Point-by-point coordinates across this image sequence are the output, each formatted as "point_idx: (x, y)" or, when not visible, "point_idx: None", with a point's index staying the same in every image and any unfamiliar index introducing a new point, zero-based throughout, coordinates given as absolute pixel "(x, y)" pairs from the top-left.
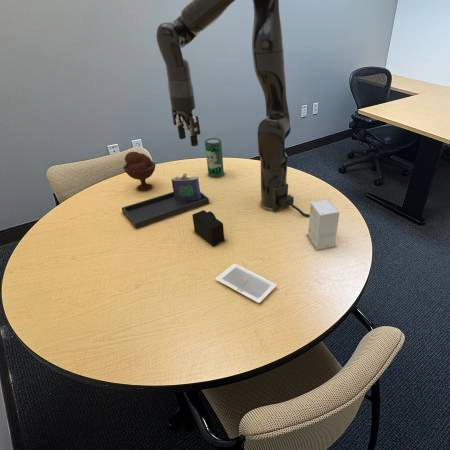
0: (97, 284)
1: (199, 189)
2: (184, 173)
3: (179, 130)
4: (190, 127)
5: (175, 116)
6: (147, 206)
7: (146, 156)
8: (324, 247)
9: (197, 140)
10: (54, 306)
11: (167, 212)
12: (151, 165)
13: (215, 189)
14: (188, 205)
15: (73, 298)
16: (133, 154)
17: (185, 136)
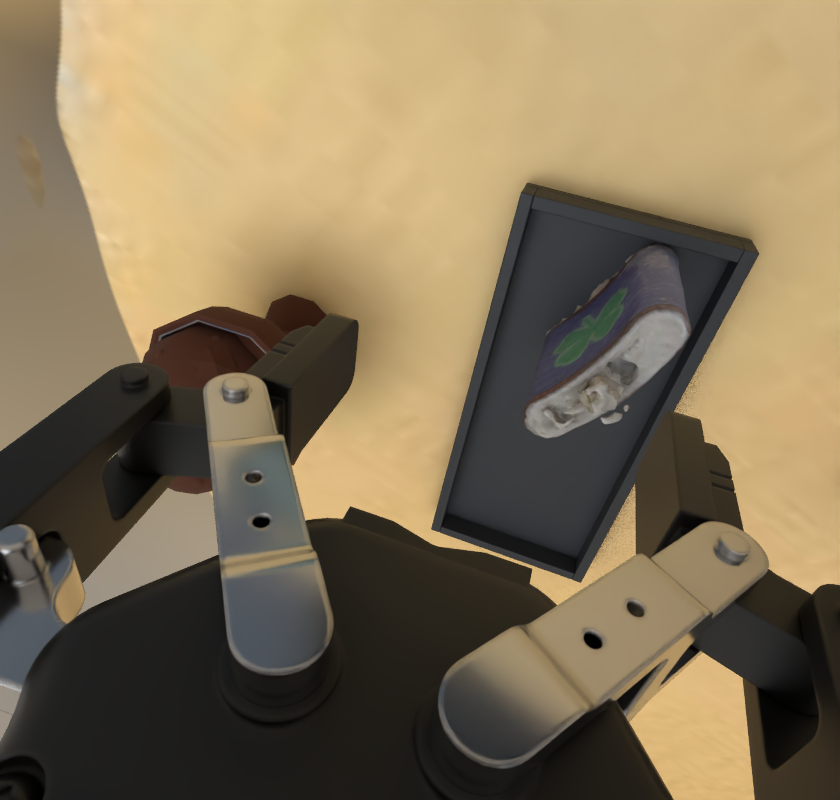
0: (717, 747)
1: (681, 284)
2: (590, 393)
3: (300, 444)
4: (651, 688)
5: (87, 551)
6: (479, 451)
7: (198, 385)
8: None
9: (705, 455)
10: (685, 795)
11: (635, 481)
12: (250, 346)
13: (657, 44)
14: (687, 384)
15: (703, 779)
16: (193, 482)
17: (348, 326)
